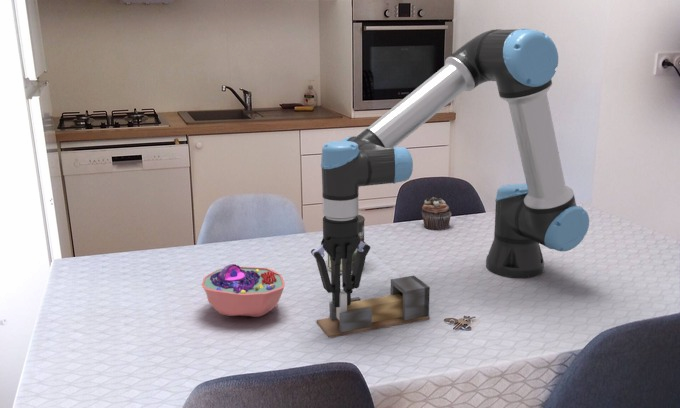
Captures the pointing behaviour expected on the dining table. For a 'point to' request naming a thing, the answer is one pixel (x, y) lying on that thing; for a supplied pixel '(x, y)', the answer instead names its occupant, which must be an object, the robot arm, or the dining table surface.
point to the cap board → (361, 320)
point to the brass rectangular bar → (381, 307)
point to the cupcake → (436, 214)
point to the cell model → (243, 290)
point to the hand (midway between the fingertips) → (341, 319)
